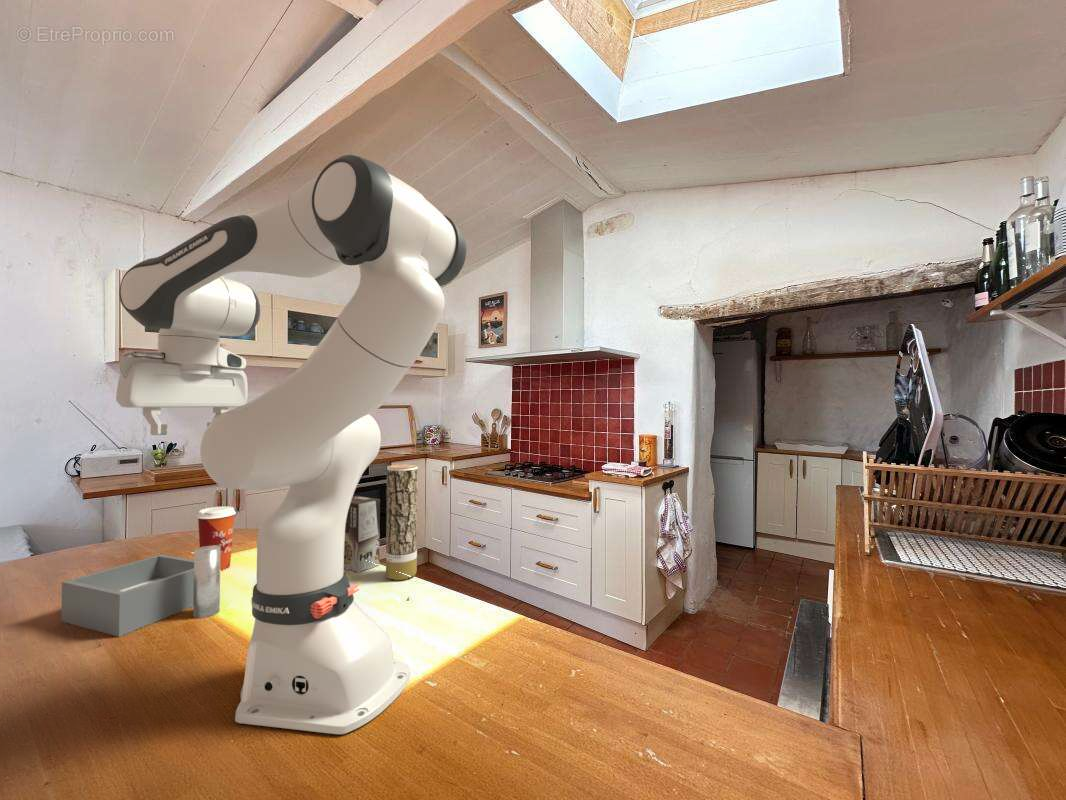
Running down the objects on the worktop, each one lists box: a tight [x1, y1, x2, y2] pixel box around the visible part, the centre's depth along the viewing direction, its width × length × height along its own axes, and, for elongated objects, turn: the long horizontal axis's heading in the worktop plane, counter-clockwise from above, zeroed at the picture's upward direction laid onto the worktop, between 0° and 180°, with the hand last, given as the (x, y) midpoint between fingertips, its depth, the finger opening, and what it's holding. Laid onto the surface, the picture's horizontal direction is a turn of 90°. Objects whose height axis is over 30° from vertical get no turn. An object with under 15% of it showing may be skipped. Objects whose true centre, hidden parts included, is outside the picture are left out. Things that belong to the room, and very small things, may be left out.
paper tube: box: [385, 463, 419, 581], centre depth 103 cm, size 7×7×25 cm
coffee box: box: [344, 495, 381, 573], centre depth 110 cm, size 9×6×16 cm
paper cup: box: [196, 505, 237, 571], centre depth 107 cm, size 8×8×14 cm
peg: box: [192, 545, 221, 619], centre depth 84 cm, size 4×4×12 cm
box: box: [60, 554, 194, 638], centre depth 86 cm, size 16×16×7 cm
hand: (188, 433), depth 80 cm, fingers open, 8 cm apart
